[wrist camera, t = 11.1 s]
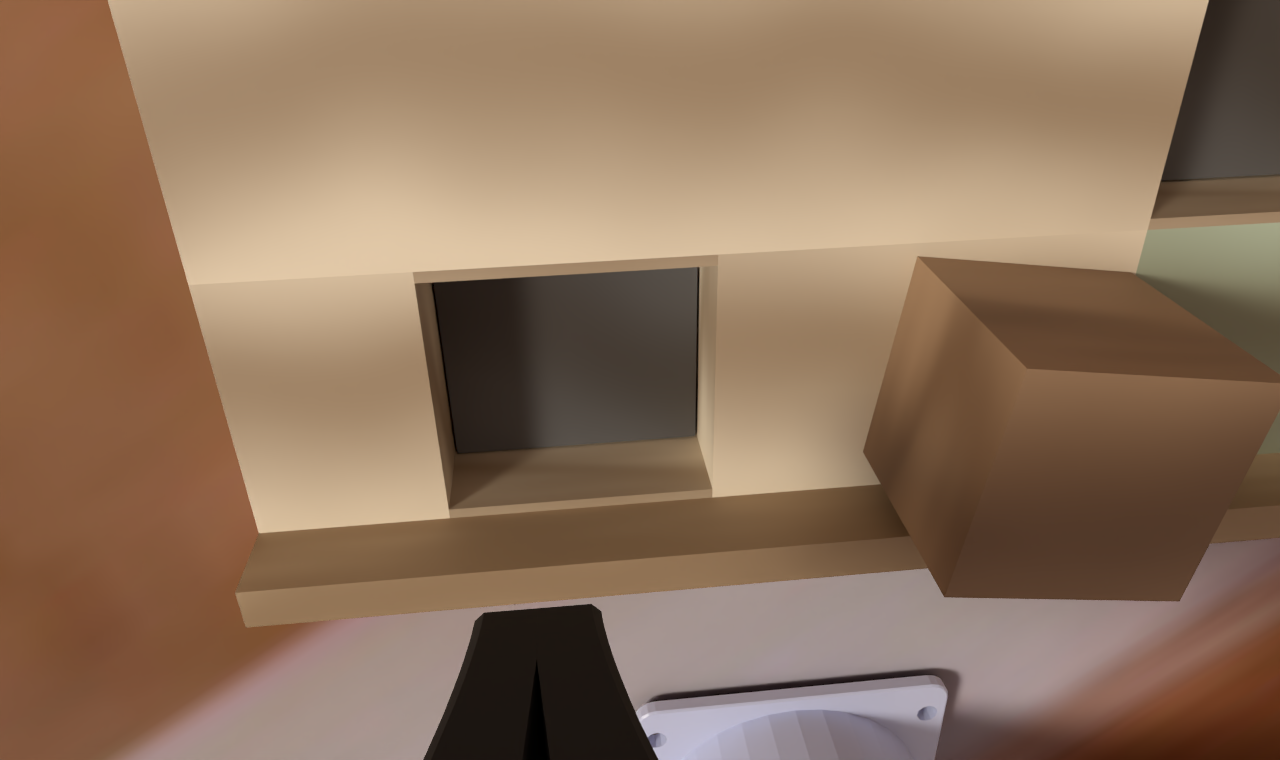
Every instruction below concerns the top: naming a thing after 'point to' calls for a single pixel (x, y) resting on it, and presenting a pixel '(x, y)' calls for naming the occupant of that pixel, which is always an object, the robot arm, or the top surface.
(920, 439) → the walnut block
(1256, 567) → the top surface
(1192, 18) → the birch tray
